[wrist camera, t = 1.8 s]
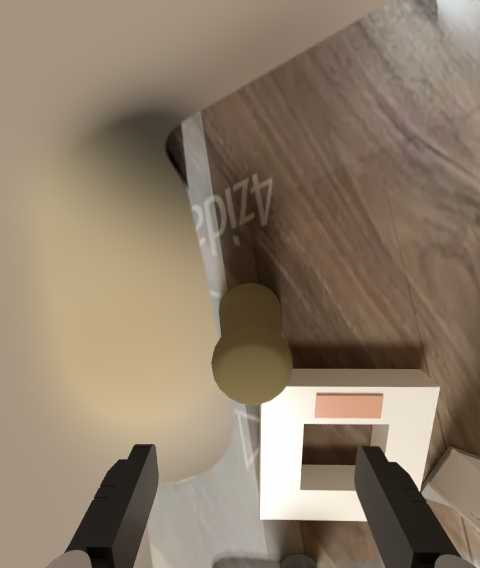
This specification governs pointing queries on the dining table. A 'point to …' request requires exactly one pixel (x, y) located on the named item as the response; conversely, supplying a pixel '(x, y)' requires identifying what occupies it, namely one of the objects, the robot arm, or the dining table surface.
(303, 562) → the beverage cup
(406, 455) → the hole board
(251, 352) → the cork
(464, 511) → the skyscraper
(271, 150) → the dining table surface
